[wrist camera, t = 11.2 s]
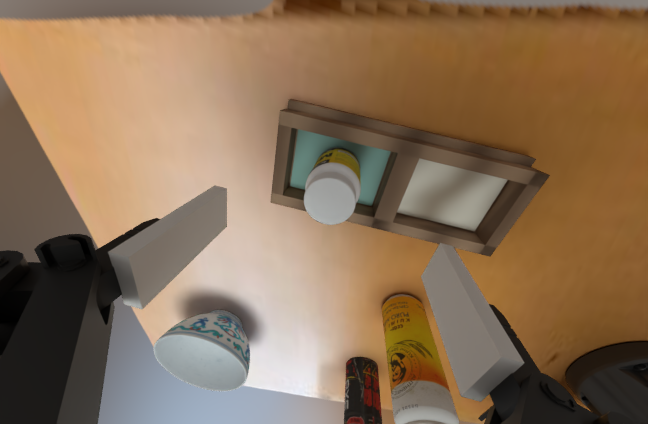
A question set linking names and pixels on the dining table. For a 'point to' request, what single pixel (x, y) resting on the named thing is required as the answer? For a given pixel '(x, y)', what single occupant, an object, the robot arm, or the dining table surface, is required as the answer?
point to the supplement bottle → (333, 186)
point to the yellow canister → (415, 365)
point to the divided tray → (409, 177)
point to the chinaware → (206, 351)
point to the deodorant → (362, 392)
